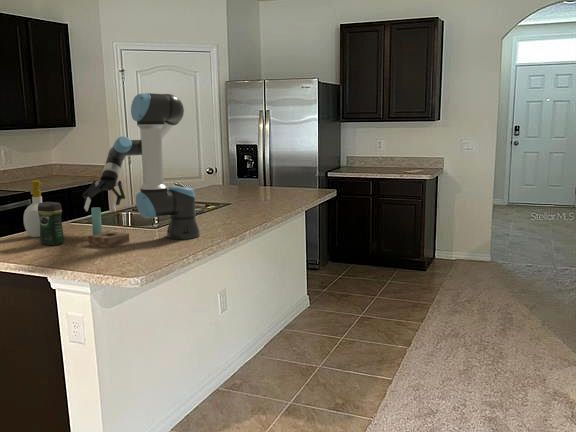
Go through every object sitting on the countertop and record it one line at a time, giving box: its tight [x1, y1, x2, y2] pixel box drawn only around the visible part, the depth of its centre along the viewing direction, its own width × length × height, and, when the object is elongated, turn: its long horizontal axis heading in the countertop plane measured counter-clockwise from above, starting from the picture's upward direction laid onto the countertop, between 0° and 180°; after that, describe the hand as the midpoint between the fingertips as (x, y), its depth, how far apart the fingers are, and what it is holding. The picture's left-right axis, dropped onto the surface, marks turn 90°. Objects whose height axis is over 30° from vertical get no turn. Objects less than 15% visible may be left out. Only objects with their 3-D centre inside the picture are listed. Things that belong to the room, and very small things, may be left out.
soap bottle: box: [23, 180, 44, 238], centre depth 261 cm, size 14×9×26 cm, turn 146°
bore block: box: [87, 230, 130, 249], centre depth 247 cm, size 12×12×4 cm
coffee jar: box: [38, 201, 65, 246], centre depth 246 cm, size 10×8×19 cm
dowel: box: [90, 207, 103, 235], centre depth 257 cm, size 4×4×14 cm
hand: (99, 209), depth 263 cm, fingers open, 13 cm apart
